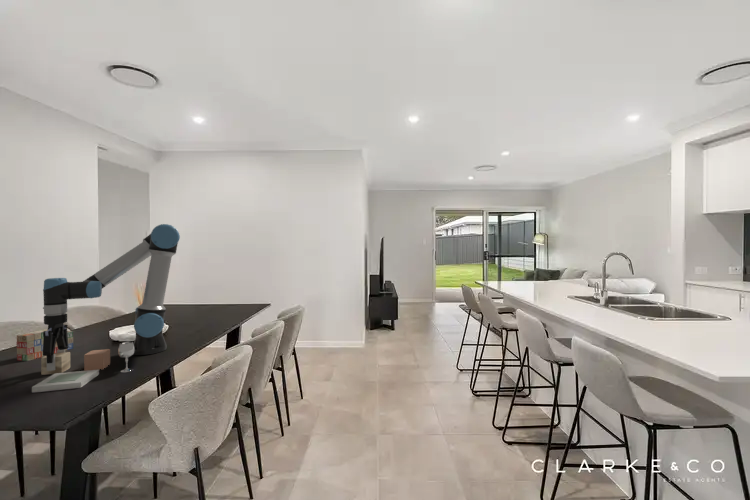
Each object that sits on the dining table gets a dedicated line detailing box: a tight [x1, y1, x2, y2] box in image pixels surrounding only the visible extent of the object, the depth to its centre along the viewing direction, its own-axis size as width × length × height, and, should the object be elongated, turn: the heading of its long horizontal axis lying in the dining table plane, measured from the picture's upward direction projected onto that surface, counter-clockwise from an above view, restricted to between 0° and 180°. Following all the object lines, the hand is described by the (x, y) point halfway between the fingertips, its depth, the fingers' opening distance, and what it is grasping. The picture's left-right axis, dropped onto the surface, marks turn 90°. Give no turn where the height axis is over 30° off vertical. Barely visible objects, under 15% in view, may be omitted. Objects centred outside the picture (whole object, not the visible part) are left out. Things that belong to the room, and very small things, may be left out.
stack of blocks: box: [16, 328, 74, 362], centre depth 179 cm, size 21×6×12 cm, turn 169°
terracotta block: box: [83, 348, 111, 371], centre depth 157 cm, size 7×7×7 cm
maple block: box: [40, 351, 71, 376], centre depth 153 cm, size 7×7×7 cm
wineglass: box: [117, 340, 135, 373], centre depth 153 cm, size 6×6×12 cm
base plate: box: [31, 370, 100, 393], centre depth 139 cm, size 15×15×2 cm
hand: (56, 367), depth 153 cm, fingers closed on maple block, 7 cm apart
